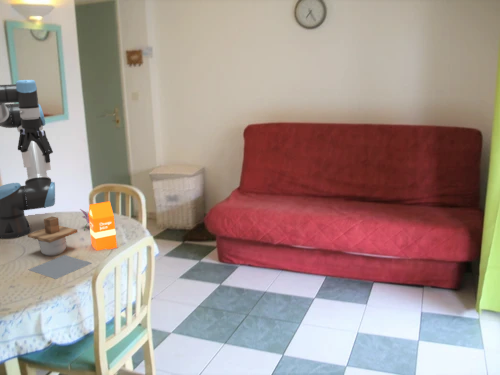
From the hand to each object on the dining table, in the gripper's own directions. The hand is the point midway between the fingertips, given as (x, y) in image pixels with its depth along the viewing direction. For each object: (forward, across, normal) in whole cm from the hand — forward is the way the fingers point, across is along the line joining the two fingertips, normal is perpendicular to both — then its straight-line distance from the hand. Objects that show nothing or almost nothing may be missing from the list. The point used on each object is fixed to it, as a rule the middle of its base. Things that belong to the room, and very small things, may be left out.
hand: (37, 168), depth 213 cm
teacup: (+35, +10, -3) cm, 36 cm away
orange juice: (+35, +24, +11) cm, 44 cm away
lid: (+27, +10, -4) cm, 29 cm away
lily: (+35, 0, +25) cm, 43 cm away
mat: (+34, +26, -13) cm, 45 cm away
